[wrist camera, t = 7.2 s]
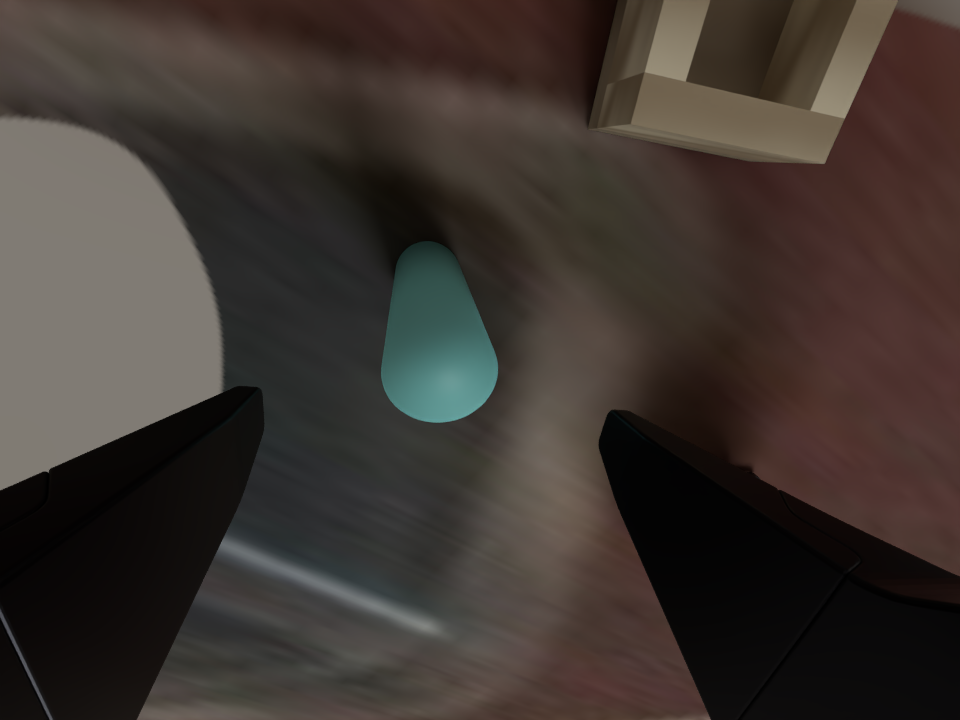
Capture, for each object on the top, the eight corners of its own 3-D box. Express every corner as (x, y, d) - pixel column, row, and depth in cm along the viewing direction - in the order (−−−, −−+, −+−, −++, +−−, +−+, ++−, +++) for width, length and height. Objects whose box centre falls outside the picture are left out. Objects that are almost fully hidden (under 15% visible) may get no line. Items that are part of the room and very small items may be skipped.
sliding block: (749, 161, 20) (824, 163, 16) (587, 129, 18) (630, 124, 14) (837, -68, 16) (956, -129, 13) (648, -132, 15) (723, -221, 11)
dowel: (455, 307, 21) (488, 425, 12) (393, 301, 20) (377, 419, 11) (464, 245, 20) (507, 325, 11) (397, 236, 19) (384, 313, 10)
